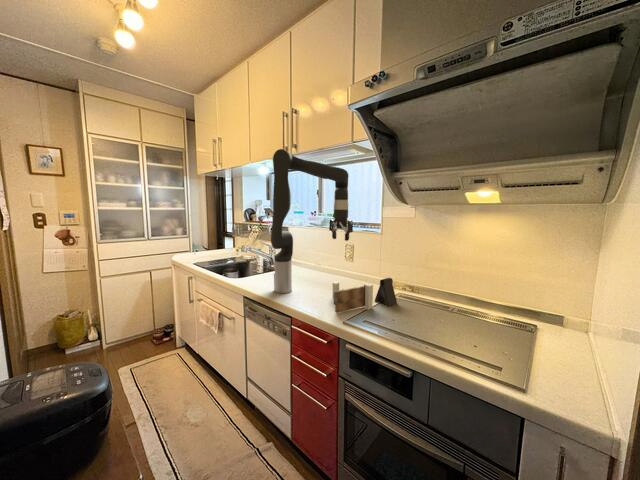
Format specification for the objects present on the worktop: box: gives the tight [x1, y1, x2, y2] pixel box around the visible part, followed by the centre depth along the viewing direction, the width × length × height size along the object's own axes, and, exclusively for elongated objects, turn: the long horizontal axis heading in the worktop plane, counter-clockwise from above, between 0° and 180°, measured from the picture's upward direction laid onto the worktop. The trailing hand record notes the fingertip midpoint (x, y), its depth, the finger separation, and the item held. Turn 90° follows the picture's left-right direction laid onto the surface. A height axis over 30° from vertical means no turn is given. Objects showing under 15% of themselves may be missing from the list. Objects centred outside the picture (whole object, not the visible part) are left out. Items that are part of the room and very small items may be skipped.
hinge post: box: [364, 283, 374, 310], centre depth 118 cm, size 2×3×11 cm, turn 136°
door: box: [334, 284, 367, 314], centre depth 115 cm, size 17×2×10 cm, turn 119°
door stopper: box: [374, 277, 398, 307], centre depth 125 cm, size 9×6×12 cm, turn 37°
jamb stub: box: [332, 281, 340, 299], centre depth 132 cm, size 2×2×8 cm
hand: (340, 239), depth 136 cm, fingers open, 8 cm apart
